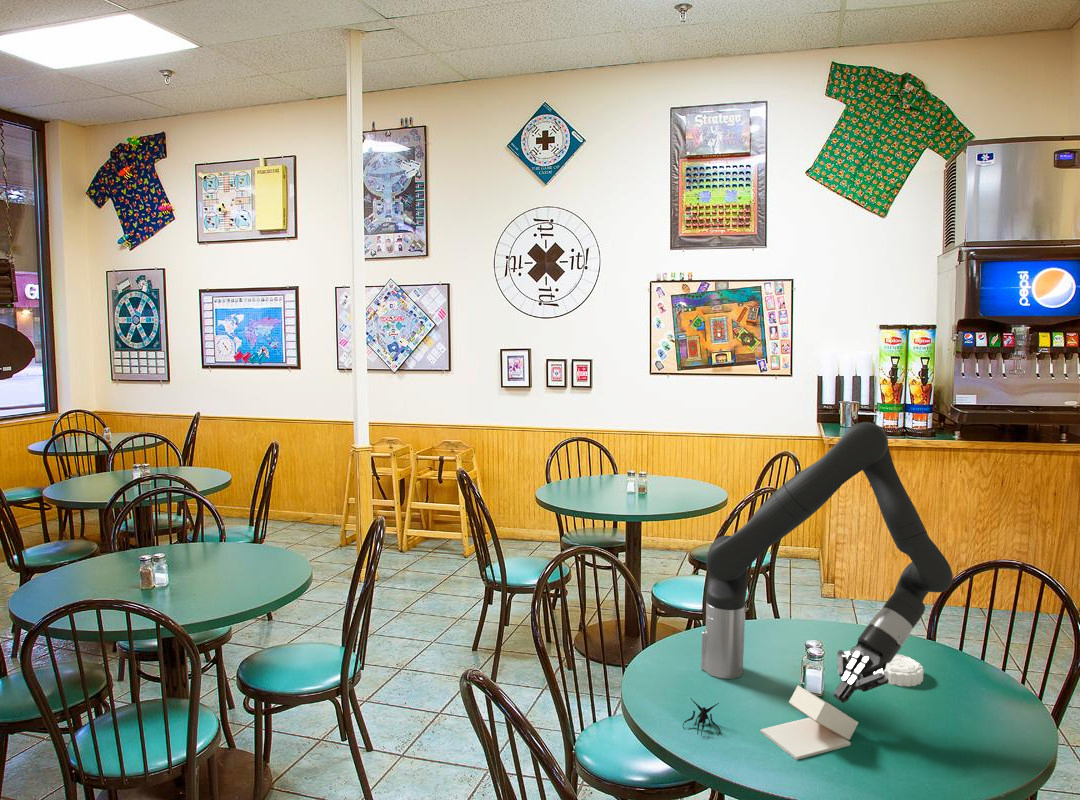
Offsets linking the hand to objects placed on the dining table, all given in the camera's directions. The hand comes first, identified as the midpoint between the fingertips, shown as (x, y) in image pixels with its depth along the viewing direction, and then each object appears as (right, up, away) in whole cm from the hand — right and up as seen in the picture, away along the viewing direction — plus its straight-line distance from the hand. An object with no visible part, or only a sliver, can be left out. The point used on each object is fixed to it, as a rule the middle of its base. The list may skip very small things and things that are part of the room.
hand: (838, 699), depth 163 cm
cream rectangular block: (+1, -5, +1) cm, 5 cm away
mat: (-8, -7, -3) cm, 11 cm away
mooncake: (+24, -5, +26) cm, 36 cm away
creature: (-28, -7, +1) cm, 29 cm away
